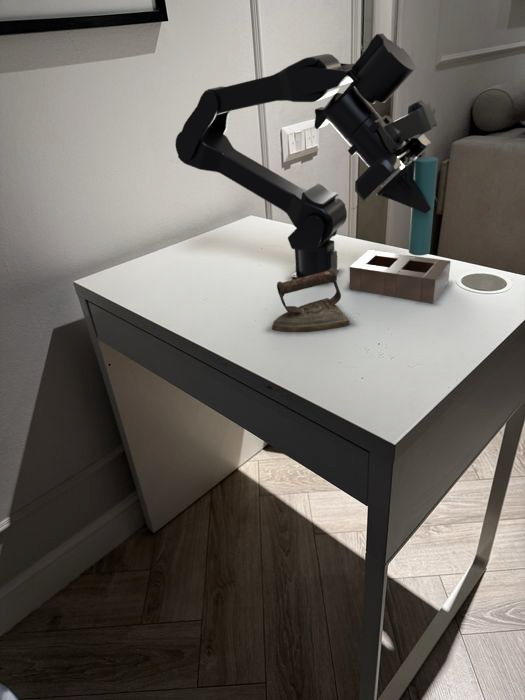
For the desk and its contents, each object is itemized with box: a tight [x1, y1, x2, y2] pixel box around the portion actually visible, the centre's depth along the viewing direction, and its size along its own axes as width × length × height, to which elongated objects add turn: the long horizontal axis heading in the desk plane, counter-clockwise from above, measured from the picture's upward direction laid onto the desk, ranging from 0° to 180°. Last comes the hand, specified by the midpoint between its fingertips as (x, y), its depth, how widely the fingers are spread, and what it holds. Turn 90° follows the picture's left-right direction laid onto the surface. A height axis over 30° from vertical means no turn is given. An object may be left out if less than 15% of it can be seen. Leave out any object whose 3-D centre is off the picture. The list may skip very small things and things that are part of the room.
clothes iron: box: [271, 268, 351, 333], centre depth 76 cm, size 7×11×10 cm, turn 107°
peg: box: [408, 155, 439, 257], centre depth 77 cm, size 3×3×14 cm
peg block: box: [349, 249, 452, 304], centre depth 85 cm, size 14×8×4 cm, turn 57°
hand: (431, 207), depth 77 cm, fingers closed on peg, 3 cm apart
